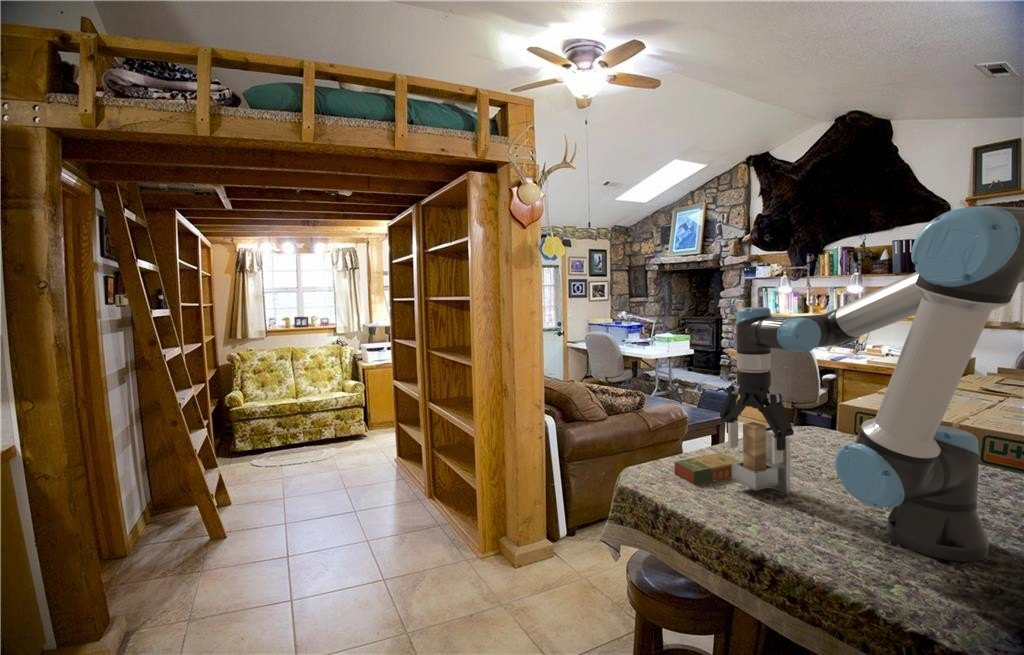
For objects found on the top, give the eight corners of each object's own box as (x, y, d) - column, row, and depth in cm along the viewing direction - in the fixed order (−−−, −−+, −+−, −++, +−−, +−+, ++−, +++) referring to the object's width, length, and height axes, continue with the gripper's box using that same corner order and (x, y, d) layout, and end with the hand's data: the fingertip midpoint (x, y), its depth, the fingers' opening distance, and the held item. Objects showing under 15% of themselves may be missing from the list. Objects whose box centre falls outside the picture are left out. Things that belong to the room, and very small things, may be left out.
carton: (743, 476, 133) (742, 461, 133) (693, 486, 128) (693, 470, 128) (721, 466, 141) (720, 451, 141) (674, 475, 136) (673, 460, 136)
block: (765, 480, 122) (765, 425, 120) (755, 483, 120) (754, 427, 119) (754, 475, 125) (753, 421, 124) (743, 478, 124) (742, 423, 123)
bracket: (790, 493, 120) (790, 437, 119) (760, 501, 117) (759, 444, 116) (756, 479, 130) (756, 427, 129) (727, 486, 126) (727, 433, 125)
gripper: (811, 375, 110) (811, 467, 112) (726, 362, 133) (727, 438, 135) (787, 379, 108) (787, 473, 109) (704, 365, 131) (706, 443, 132)
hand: (754, 454), depth 122 cm, fingers open, 13 cm apart
